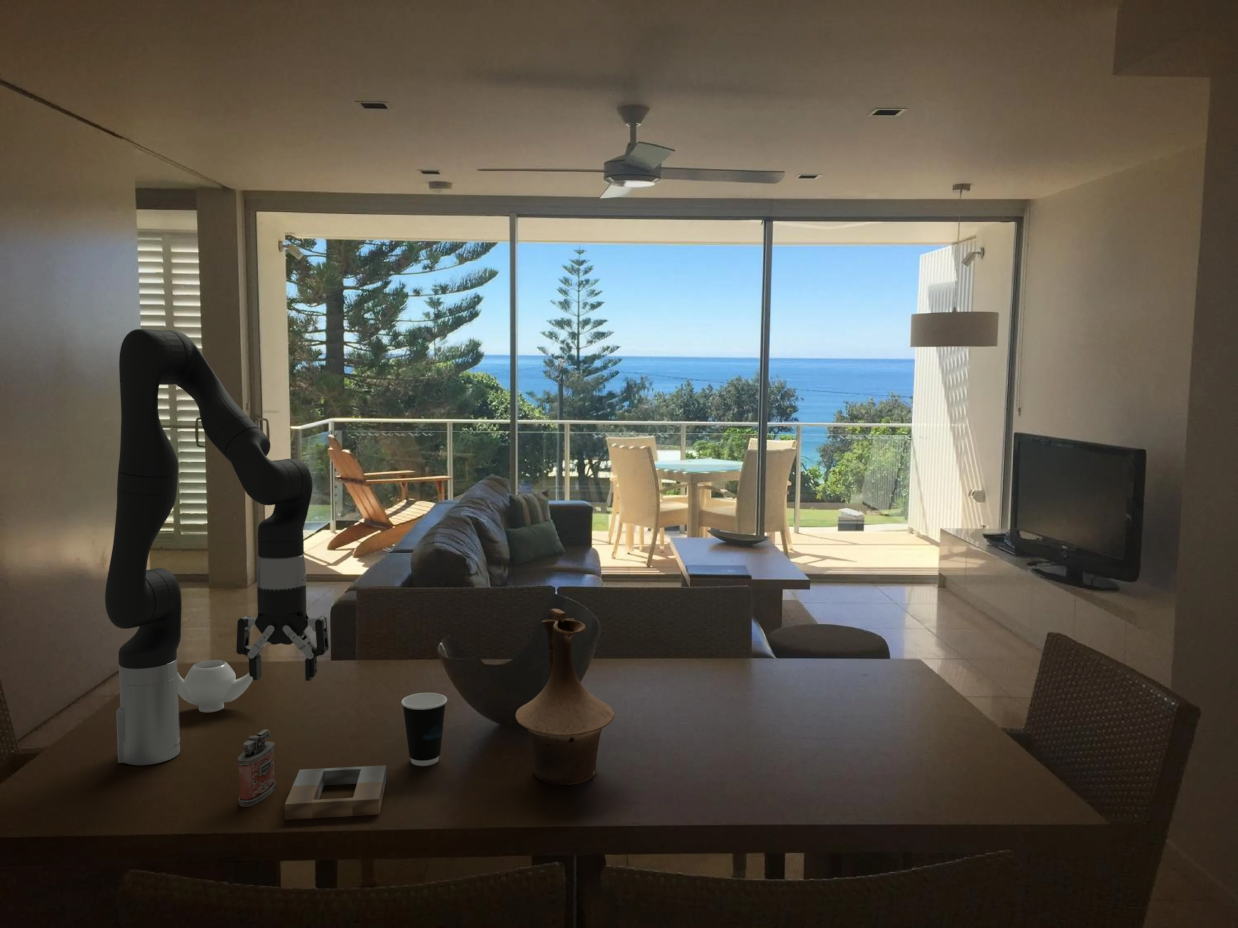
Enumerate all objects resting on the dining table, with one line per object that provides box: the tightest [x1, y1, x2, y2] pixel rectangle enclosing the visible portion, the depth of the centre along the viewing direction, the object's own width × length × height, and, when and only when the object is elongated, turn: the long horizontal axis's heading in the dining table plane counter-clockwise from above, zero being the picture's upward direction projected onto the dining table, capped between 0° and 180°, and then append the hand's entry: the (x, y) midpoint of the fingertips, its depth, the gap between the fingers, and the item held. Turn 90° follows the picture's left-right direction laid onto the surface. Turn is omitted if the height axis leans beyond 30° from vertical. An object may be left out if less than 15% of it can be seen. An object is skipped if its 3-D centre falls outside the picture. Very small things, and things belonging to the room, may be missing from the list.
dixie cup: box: [401, 692, 448, 767], centre depth 171 cm, size 8×8×11 cm
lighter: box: [237, 728, 277, 807], centre depth 156 cm, size 8×3×10 cm, turn 168°
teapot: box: [177, 659, 254, 713], centre depth 196 cm, size 10×20×9 cm, turn 95°
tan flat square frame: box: [284, 764, 387, 821], centre depth 155 cm, size 14×13×2 cm
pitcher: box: [515, 608, 615, 786], centre depth 165 cm, size 18×17×28 cm
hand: (283, 679), depth 159 cm, fingers open, 8 cm apart
